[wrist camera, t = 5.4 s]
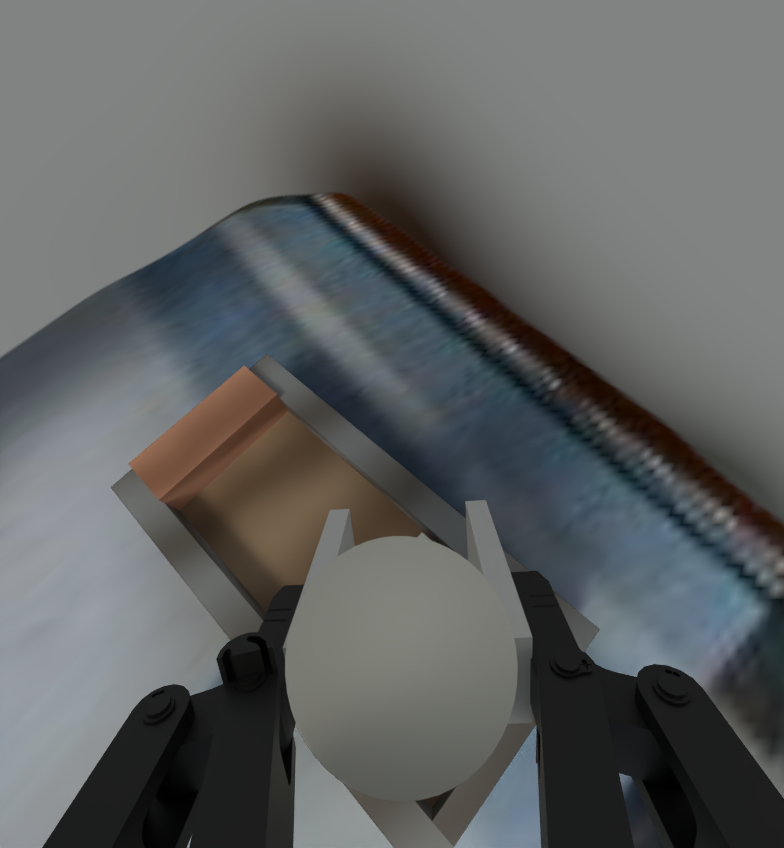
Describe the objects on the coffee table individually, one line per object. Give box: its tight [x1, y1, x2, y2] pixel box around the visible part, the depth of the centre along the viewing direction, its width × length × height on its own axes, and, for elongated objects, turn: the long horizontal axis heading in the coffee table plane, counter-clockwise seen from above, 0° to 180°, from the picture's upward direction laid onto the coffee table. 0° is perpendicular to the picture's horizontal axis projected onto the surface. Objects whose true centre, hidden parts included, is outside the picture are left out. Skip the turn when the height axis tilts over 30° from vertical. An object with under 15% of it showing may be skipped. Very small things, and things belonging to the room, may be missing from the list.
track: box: [111, 354, 600, 848], centre depth 22 cm, size 22×11×4 cm, turn 47°
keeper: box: [285, 533, 518, 802], centre depth 14 cm, size 6×7×12 cm
